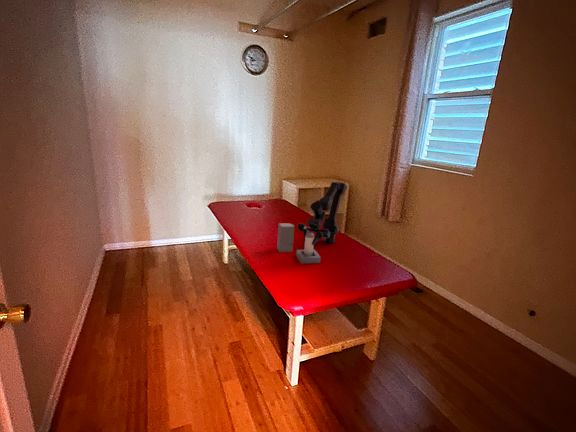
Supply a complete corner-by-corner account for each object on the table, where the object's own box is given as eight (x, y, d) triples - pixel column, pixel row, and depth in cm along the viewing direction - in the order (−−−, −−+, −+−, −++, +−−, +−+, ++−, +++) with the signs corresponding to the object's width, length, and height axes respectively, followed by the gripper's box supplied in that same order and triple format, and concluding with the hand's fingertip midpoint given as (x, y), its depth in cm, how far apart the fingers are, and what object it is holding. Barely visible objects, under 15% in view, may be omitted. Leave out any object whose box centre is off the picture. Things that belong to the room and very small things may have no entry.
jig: (296, 255, 182) (296, 249, 181) (314, 254, 184) (314, 249, 183) (300, 263, 171) (301, 258, 170) (320, 262, 174) (320, 257, 173)
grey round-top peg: (304, 252, 180) (306, 230, 176) (313, 253, 179) (315, 231, 175) (303, 255, 175) (305, 233, 171) (311, 256, 174) (313, 234, 170)
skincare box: (279, 252, 183) (280, 227, 179) (276, 247, 190) (277, 222, 185) (293, 251, 186) (295, 226, 181) (290, 247, 192) (291, 222, 188)
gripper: (299, 209, 177) (289, 233, 171) (330, 215, 169) (320, 241, 163) (304, 219, 186) (294, 242, 180) (334, 225, 178) (325, 250, 172)
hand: (308, 243), depth 174 cm, fingers closed on grey round-top peg, 5 cm apart
